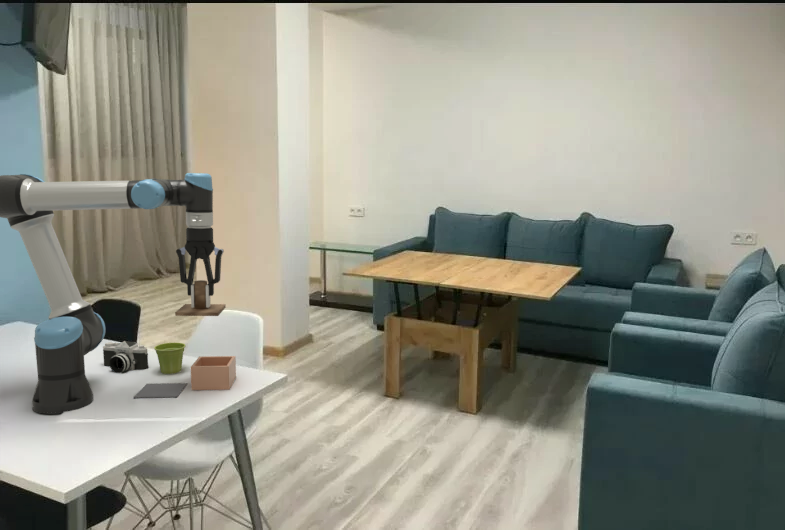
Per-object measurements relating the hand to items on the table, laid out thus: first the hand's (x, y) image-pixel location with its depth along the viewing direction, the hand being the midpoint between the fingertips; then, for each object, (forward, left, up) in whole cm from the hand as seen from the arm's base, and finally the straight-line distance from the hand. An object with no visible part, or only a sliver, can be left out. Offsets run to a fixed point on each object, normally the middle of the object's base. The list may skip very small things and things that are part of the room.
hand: (200, 306), depth 198 cm
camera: (-29, +16, -24) cm, 41 cm away
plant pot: (-13, +13, -24) cm, 30 cm away
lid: (0, 0, -2) cm, 2 cm away
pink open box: (+3, +1, -24) cm, 24 cm away
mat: (-11, -5, -24) cm, 27 cm away
